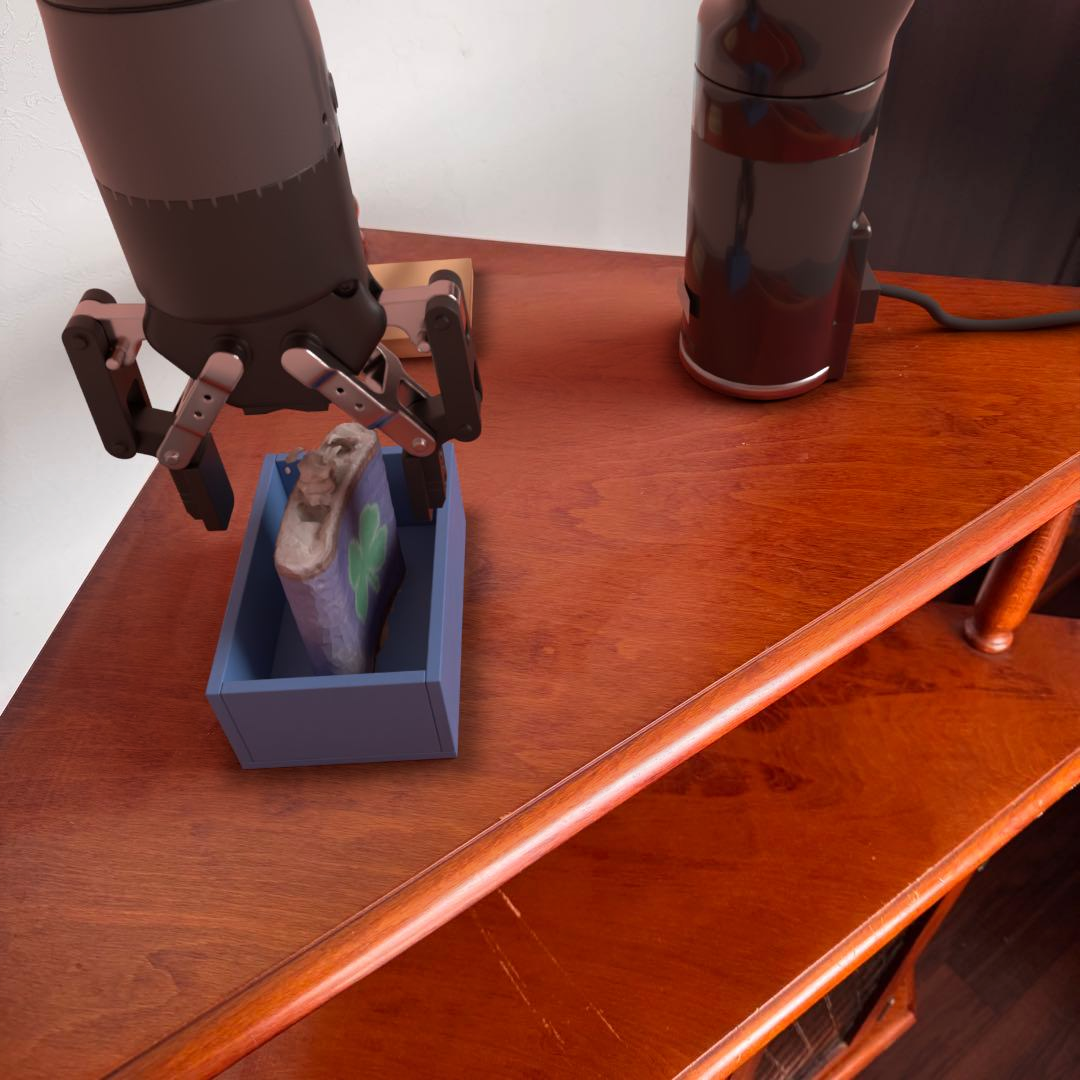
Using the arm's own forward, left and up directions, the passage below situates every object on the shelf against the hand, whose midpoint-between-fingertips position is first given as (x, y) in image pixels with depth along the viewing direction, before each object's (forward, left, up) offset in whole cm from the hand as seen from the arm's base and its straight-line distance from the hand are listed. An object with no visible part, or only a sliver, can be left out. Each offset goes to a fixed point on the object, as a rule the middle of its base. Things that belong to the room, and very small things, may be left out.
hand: (324, 512), depth 42 cm
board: (0, -26, -8) cm, 28 cm away
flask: (0, 0, -8) cm, 8 cm away
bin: (0, 0, -8) cm, 8 cm away
